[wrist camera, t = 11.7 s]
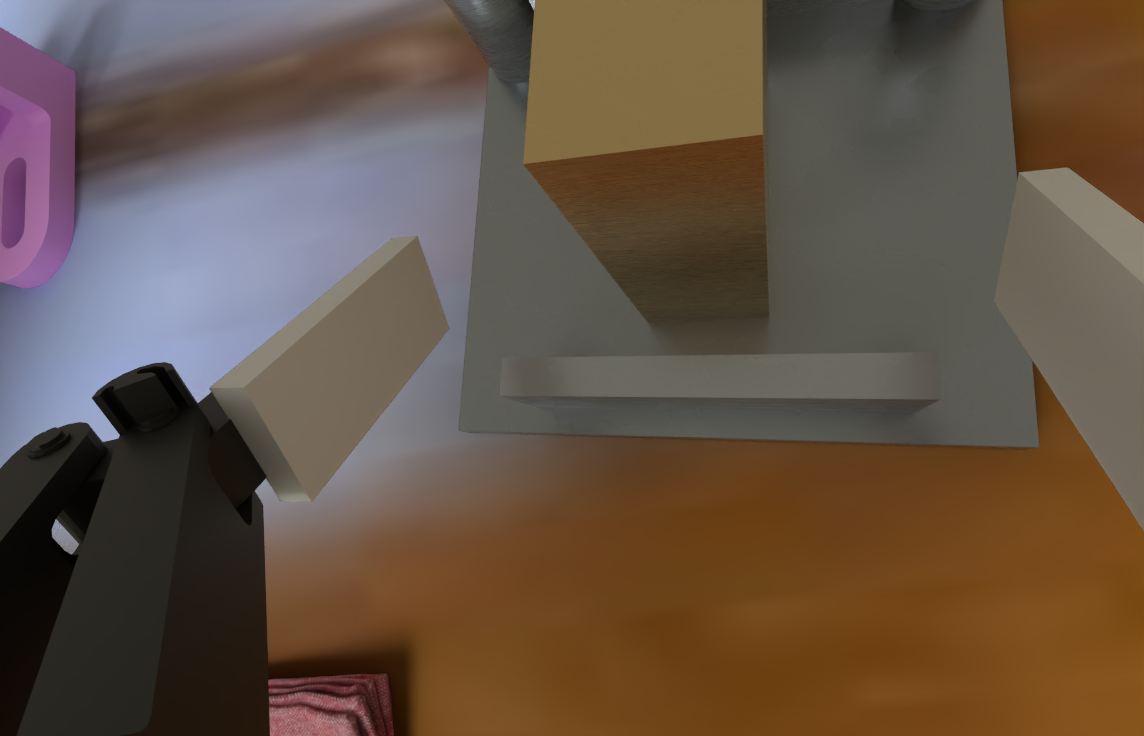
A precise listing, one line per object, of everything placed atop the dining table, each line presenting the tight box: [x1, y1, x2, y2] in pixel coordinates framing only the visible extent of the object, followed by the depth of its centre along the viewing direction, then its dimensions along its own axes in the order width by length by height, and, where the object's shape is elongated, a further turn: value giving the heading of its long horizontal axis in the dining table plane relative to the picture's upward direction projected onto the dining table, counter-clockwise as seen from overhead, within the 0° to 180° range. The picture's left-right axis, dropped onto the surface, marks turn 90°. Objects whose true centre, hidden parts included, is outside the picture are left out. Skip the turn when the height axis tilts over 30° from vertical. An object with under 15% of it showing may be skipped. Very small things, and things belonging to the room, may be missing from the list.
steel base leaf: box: [445, 0, 1039, 449], centre depth 17 cm, size 18×17×11 cm
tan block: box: [523, 0, 769, 322], centre depth 16 cm, size 4×10×11 cm, turn 177°
